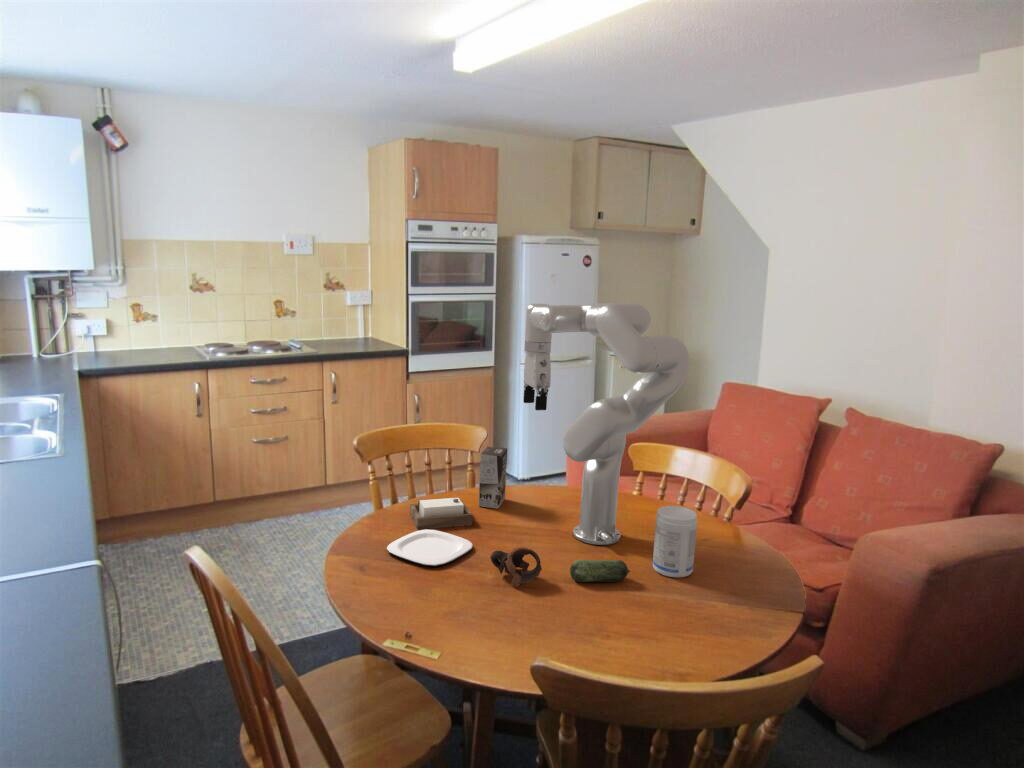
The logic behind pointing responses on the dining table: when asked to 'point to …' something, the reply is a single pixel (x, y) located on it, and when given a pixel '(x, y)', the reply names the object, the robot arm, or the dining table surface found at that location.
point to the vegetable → (599, 570)
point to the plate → (430, 547)
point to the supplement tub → (674, 541)
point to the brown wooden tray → (440, 518)
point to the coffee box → (492, 477)
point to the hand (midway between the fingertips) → (534, 406)
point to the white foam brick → (441, 507)
